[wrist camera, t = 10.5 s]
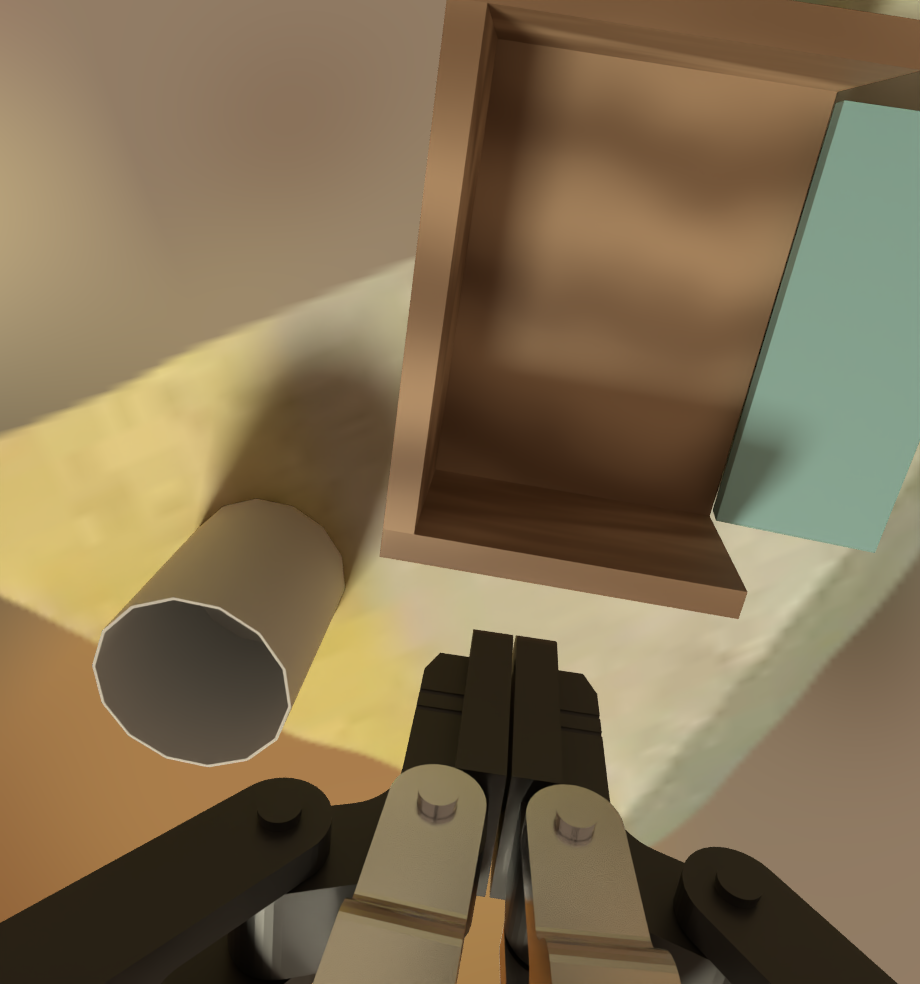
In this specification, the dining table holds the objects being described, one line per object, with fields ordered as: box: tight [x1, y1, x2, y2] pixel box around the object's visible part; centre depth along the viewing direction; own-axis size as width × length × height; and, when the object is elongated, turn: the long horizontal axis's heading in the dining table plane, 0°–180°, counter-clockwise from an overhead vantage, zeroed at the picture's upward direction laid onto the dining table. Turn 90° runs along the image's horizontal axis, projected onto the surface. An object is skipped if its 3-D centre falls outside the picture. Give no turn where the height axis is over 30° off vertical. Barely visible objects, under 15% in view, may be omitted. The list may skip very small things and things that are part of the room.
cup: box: [92, 499, 345, 767], centre depth 37 cm, size 8×8×10 cm
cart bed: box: [380, 0, 920, 619], centre depth 30 cm, size 20×14×9 cm
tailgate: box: [713, 100, 920, 553], centre depth 32 cm, size 17×2×7 cm
